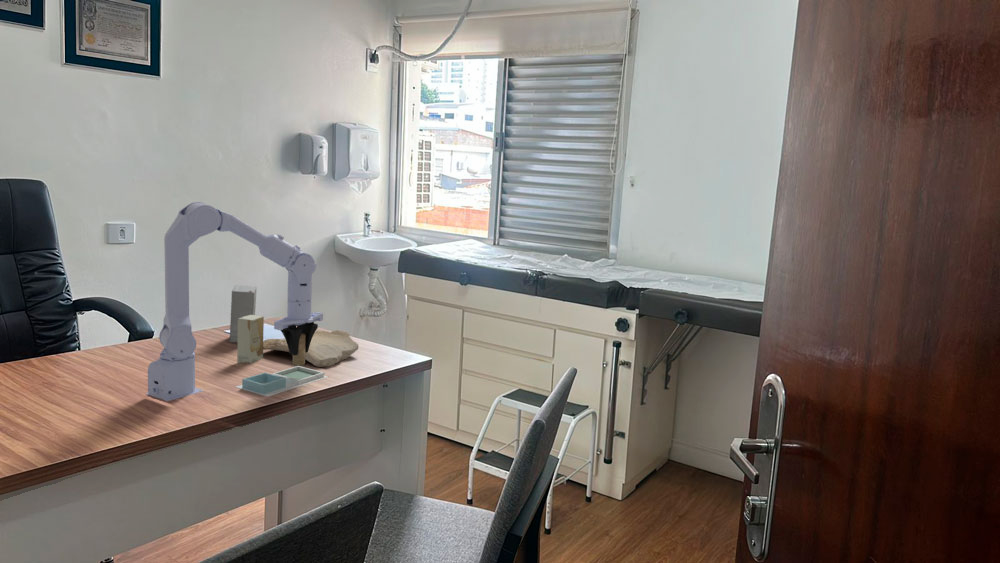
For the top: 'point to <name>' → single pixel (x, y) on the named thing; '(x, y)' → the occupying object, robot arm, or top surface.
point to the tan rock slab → (321, 347)
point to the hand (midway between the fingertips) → (298, 353)
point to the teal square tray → (271, 385)
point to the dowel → (300, 351)
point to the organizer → (294, 378)
